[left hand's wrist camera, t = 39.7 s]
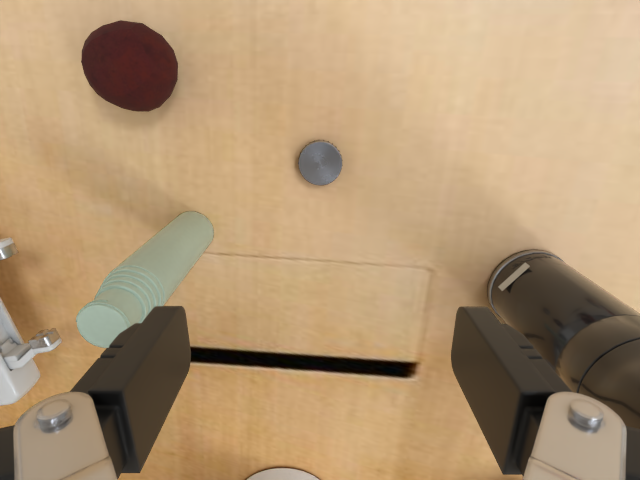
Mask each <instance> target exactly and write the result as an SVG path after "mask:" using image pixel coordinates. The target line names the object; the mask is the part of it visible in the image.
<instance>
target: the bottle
mask: <svg viewBox="0 0 640 480" xmlns="http://www.w3.org/2000/svg"><path fill="white" fill-rule="evenodd" d="M213 236H214V230H213V226H212V224H211V222H210V221H209V220H208V218H206V217H205V216H204V215H202V214H200V213H198V212H193V211H189V212H184V213H182V214H180V215H179V216H177V217H176V218H175V219H174V220H173V221H171V222H170V223H169V224H168V225H167V226H165V227H164V228H163V229H162V230H161V231H159V232H158V233H157V234H156V235H155V236H153V237H152V238H151V239H150V240H149V241H147V242H146V243H145V244H144V245H143V246H141V247H140V248H139V249H138V250H137V251H135V252H134V253H133V254H132V255H131V256H129V257H128V258H127V259H126V260H125V261H123V262H122V263H121V264H120V265H119V266H117V267H116V268H115V269H114V270H113V271H111V272H110V273H109V274H108V276H107V277H106V278H105V280H104V281H103V283H102V285H101V287H100V289H99V290H98V293H97V294H96V296H95V299H94V300H93V301H92V302H90V303H88V304H87V305H86V306H84V307H83V308H82V309H81V310H80V311H79V313H78V315H77V318H76V322H77V327H78V330H79V332H80V334H81V335H82V337H83V338H84V339H85V340H86V341H88V342H89V343H91V344H93V345H95V346H98V347H103V348H109V345H110V344H111V343H112V342H113V340H114V339H115V338H116V337H117V336H118V335H119V333H121V332H122V331H124V330H126V329H127V328H129V327H130V326H132V325H133V324H135V323H142V322H143V320H144V319H145V318H146V317H147V315H148V314H149V313H150V312H151V310H152V309H153V308H154V307H155V306H164V304H165V303H166V302H167V300H168V299H169V298H170V296H171V295H172V294H173V292H174V291H175V290H176V288H177V287H178V286H179V284H180V283H181V282H182V280H183V279H184V278H185V276H186V275H187V274H188V272H189V271H190V270H191V268H192V267H193V266H194V264H195V263H196V262H197V260H198V259H199V258H200V256H201V255H202V254H203V252H204V251H205V250H206V248H207V247H208V246H209V244H210V243H211V242H212V240H213Z"/></svg>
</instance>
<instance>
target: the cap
mask: <svg viewBox="0 0 640 480" xmlns="http://www.w3.org/2000/svg"><path fill="white" fill-rule="evenodd" d="M298 164H299V169H300V173H301V174H302V176H303V177H304V178H305V179H306V180H307V181H308V182H310V183H312V184H315V185H326V184H329V183H331V182H333V181H334V180H335V179H336V178H337V177H338V175H339V174H340V171H341V168H342V159H341V154H340V153H339V150H338V149H337V147H335V146H334V145H333V144H331V143H330V142H329V141H328V142H327V141H324V140H318V141H313V142H311V143H309V144H308V145H306V147H305V148H304V149H303V150H302V152H301V153H300V157H299V163H298Z"/></svg>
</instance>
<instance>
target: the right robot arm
mask: <svg viewBox="0 0 640 480" xmlns="http://www.w3.org/2000/svg"><path fill="white" fill-rule="evenodd" d="M17 253H18V250H17V248H16V246H15V244H14V242H13V240H12V238H11V237H10V238H5V239H0V260H3V259H6V258H9V257H11V256H12V255H14V254H17ZM28 342H29V343H26V344H25V343H24V341H23V339H22V337H21V335H20V333H19V332H18V330H17V328H16V326H15V324H14V322H13V320H12V318H11V316H10V315H9V313H8V311H7V309H6V307H5V305H4V303H3V301H2V299H1V297H0V405H8V404H13V403H15V402H17V401H18V400H20V399H21V398H22V397H23V396H24V395H25V394H27V393H28V392H29V391H30V390H31V389H32V387H33V386H34V385H35V384H36V382H37V381H38V379H39V378H40V371H39V369H38V367H37V366H36V364H35V362H34V360H33V357H35V356H36V355H37V354H38V353H42V352H48V351H51V350H53V349H55V348H56V347H57V346H58V345H59V344H60V343H61V342H62V340H61V338H60V336H59V334H58V332H57V330H56V328H52V329H51V330H48V329H47V330H41V331H40V332H39V333H37V334H36V337H32V338H31V339H30V340H29V341H28ZM247 480H319V479H318V478H316V477H315V476H313V475H311V474H309V473H307V472H304V471H301V470H297V469H291V468H274V469H268V470H264V471H261V472H259V473H256V474H254V475H252V476H251V477H249V478H248V479H247Z"/></svg>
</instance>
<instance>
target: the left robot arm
mask: <svg viewBox="0 0 640 480" xmlns="http://www.w3.org/2000/svg"><path fill="white" fill-rule="evenodd" d="M487 295H488V300H489V303H490V305H491V307H492V308H493V310H494V311H495V312H496V313H497V314H498V315H499V316H500V317H501V318H502V319H503V320H504V321H505V323H506V324H501V323H500V322H499V321H498V319H497V318H496V317H495V316H494V314H493V313H492V312H491V311H490V309H489V308H487V307H459V309H458V311H457V314H456V321H455V328H454V336H453V343H452V350H451V362H452V368H453V372H454V374H455V376H456V379H457V381H458V383H459V385H460V387H461V389H462V391H463V393H464V395H465V397H466V399H467V401H468V403H469V405H470V407H471V409H472V411H473V413H474V416H475V418H476V420H477V422H478V424H479V426H480V428H481V430H482V432H483V434H484V436H485V438H486V440H487V442H488V444H489V446H490V448H491V451H492V453H493V455H494V457H495V459H496V461H497V463H498V465H499V467H500V469H501V471H502V473H503V474H522V475H523V480H640V313H638V312H637V311H635V310H634V309H632V308H631V307H629V306H628V305H626V304H625V303H623V302H622V301H620V300H619V299H617V298H616V297H614V296H613V295H611V294H610V293H609V292H607V291H606V290H604V289H603V288H601V287H600V286H598V285H597V284H595V283H594V282H592V281H591V280H589V279H588V278H586V277H585V276H583V275H582V274H580V273H579V272H577V271H576V270H575V269H573V268H572V267H570V266H569V265H567V264H566V263H565V262H564V261H563V260H561V259H560V258H559V257H557V256H556V255H554V254H552V253H550V252H547V251H543V250H527V251H522V252H519V253H517V254H514V255H512V256H510V257H509V258H507V259H506V260H504V261H503V262H502V263H501V264H500V265H499V266H498V267H497V268H496V269H495V271H494V272H493V274H492V276H491V278H490V280H489V283H488V289H487ZM190 361H191V350H190V342H189V335H188V328H187V320H186V313H185V310H184V308H183V307H182V306H155V307H154V308H153V309H152V310H151V312H150V313H149V314H148V315H147V317H146V318H145V319H144V320H143V322H142V323H135V324H133V325H132V326H130V327H129V328H127V329H126V330H124V331H122V332H121V333H119V335H118V336H117V337H116V338H115V339H114V340H113V342H112V343H111V344H110V345H109V348H107V349H106V350H105V351H104V352H103V353H102V355H101V357H100V358H98V359H97V360H96V362H95V363H94V364H93V365H92V366H91V367H90V369H89V370H88V371H87V372H86V373H85V375H84V376H83V377H82V378H81V379H80V380H79V382H78V383H77V384H76V385H75V386H74V387H73V389H72V390H71V391H70V392H67V393H62V394H58V395H55V396H52V397H49V398H47V399H45V400H43V401H41V402H39V403H37V404H35V405H34V406H32V407H31V408H30V409H28V410H27V411H26V412H25V413H24V414H23V415H22V416H21V417H20V418H19V419H18V421H17V422H16V424H15V425H13V426H9V427H5V428H0V480H118V478H119V476H120V474H121V473H140V471H141V469H142V467H143V465H144V463H145V461H146V459H147V457H148V455H149V453H150V451H151V449H152V447H153V444H154V442H155V440H156V438H157V436H158V434H159V432H160V430H161V428H162V426H163V424H164V422H165V419H166V417H167V415H168V413H169V411H170V409H171V407H172V405H173V403H174V401H175V399H176V397H177V394H178V392H179V390H180V388H181V386H182V384H183V382H184V380H185V378H186V376H187V374H188V371H189V367H190Z"/></svg>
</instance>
